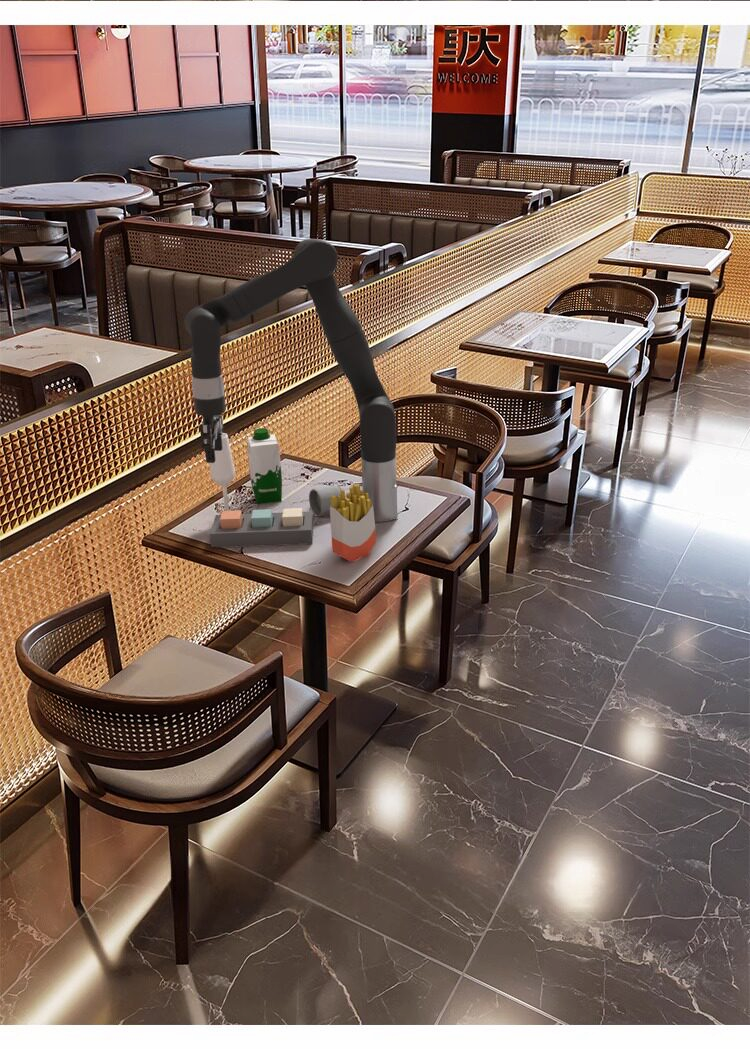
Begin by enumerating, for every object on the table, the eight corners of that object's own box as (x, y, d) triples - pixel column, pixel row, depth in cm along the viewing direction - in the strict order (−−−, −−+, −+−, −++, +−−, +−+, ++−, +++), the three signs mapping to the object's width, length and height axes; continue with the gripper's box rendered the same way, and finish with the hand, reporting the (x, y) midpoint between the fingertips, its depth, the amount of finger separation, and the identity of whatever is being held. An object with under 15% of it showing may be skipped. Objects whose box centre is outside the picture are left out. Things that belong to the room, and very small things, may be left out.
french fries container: (377, 551, 217) (375, 486, 209) (344, 566, 210) (341, 499, 202) (364, 545, 220) (362, 480, 212) (332, 560, 213) (328, 494, 205)
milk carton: (280, 490, 253) (275, 426, 244) (285, 502, 245) (279, 436, 236) (251, 494, 251) (244, 429, 242) (254, 506, 243) (247, 440, 234)
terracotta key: (242, 522, 227) (241, 510, 226) (240, 530, 223) (239, 518, 221) (224, 522, 227) (222, 511, 226) (221, 531, 223) (220, 519, 221)
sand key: (303, 519, 227) (302, 508, 226) (302, 528, 223) (301, 516, 221) (284, 520, 227) (283, 508, 226) (283, 528, 223) (282, 517, 221)
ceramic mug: (347, 512, 238) (346, 487, 235) (322, 520, 234) (320, 494, 231) (328, 500, 246) (326, 475, 243) (303, 507, 242) (301, 482, 239)
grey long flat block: (314, 524, 232) (313, 511, 230) (312, 543, 222) (311, 529, 220) (217, 528, 231) (215, 514, 230) (211, 547, 221) (209, 533, 220)
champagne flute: (216, 513, 240) (206, 432, 229) (240, 511, 240) (231, 430, 230) (214, 524, 234) (204, 441, 223) (239, 522, 234) (230, 439, 224)
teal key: (273, 520, 227) (272, 509, 226) (271, 529, 223) (270, 517, 221) (254, 521, 227) (253, 509, 226) (252, 530, 223) (251, 518, 221)
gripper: (218, 402, 201) (223, 466, 208) (229, 385, 214) (234, 446, 221) (186, 402, 202) (193, 466, 209) (200, 384, 214) (206, 446, 221)
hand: (214, 456), depth 215 cm, fingers open, 8 cm apart
